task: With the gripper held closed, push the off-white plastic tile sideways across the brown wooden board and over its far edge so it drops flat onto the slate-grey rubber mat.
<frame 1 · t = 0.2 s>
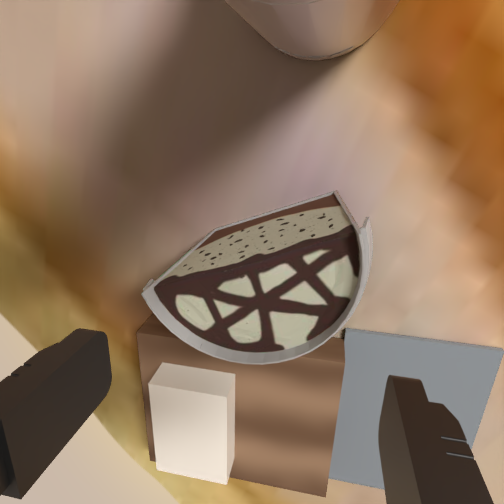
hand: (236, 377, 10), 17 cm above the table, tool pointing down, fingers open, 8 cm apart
mat: (402, 419, 31), on the table
tile: (194, 423, 30), point 4 cm above the table, touching brown wooden board
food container: (286, 248, 28), on the table
brown wooden board: (242, 392, 33), on the table
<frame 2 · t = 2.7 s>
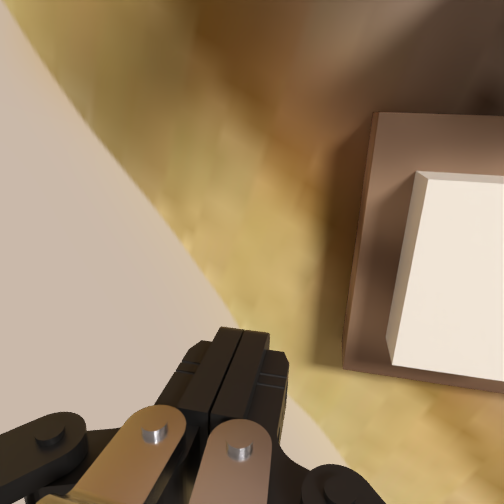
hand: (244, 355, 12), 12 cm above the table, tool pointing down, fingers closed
tile: (472, 277, 17), point 4 cm above the table, touching brown wooden board
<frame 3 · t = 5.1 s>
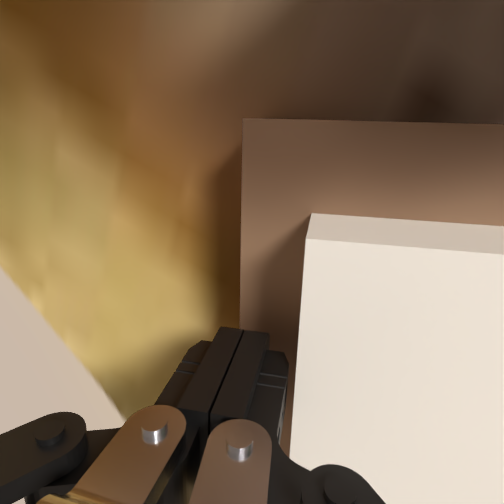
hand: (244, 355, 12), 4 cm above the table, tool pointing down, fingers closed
tile: (405, 388, 10), point 4 cm above the table, touching gripper
brown wooden board: (468, 324, 14), on the table
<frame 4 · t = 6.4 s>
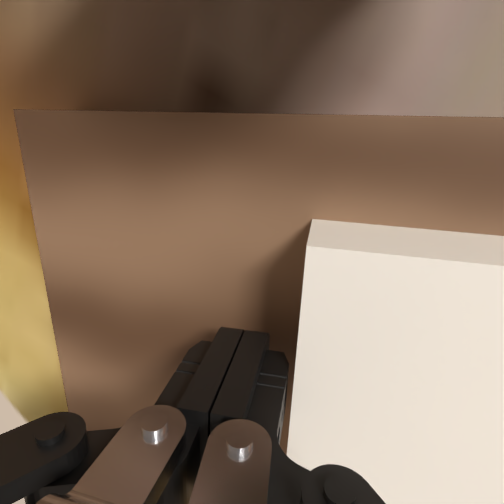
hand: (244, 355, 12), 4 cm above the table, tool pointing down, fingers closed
tile: (401, 393, 11), point 4 cm above the table, touching gripper
brown wooden board: (276, 299, 15), on the table
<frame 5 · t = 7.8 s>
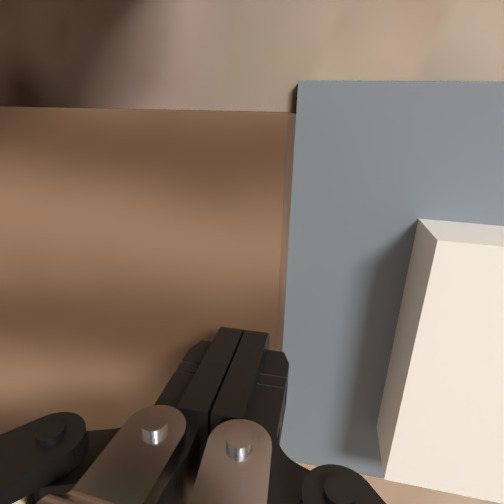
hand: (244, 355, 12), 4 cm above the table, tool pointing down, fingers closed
mat: (432, 315, 14), on the table
tile: (494, 366, 12), point 2 cm above the table, tilted 180°, touching mat
brown wooden board: (105, 279, 16), on the table
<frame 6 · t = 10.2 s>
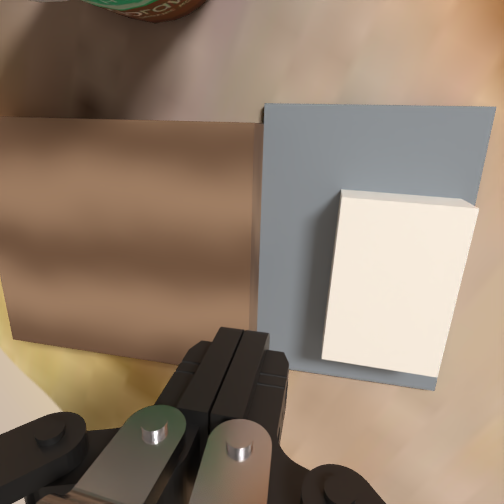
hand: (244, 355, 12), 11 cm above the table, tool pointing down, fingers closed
mat: (355, 255, 21), on the table
tile: (388, 282, 20), point 2 cm above the table, tilted 180°, touching mat
brown wooden board: (138, 236, 24), on the table
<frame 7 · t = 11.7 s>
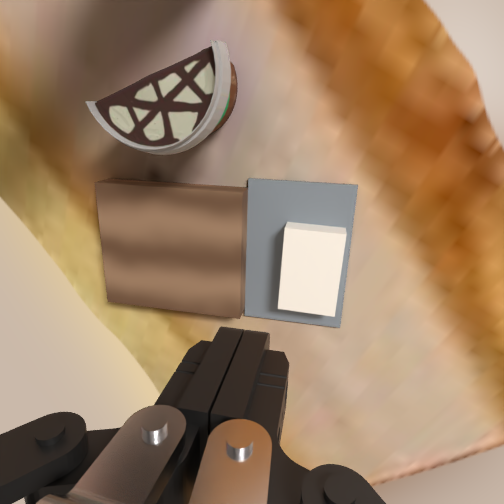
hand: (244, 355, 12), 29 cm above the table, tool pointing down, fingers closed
mat: (296, 255, 41), on the table
tile: (310, 269, 39), point 2 cm above the table, tilted 180°, touching mat
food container: (203, 115, 38), on the table
brown wooden board: (179, 243, 43), on the table
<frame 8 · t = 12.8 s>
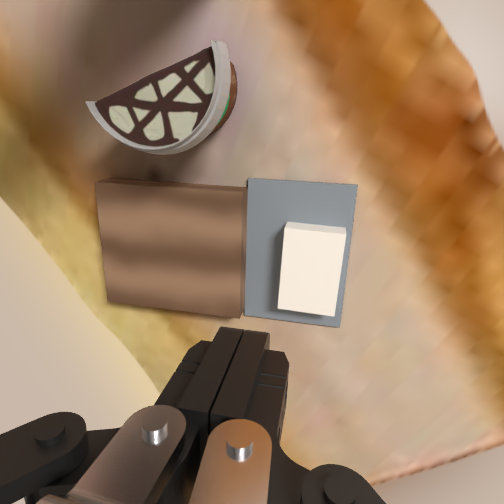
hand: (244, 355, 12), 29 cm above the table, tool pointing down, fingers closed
mat: (296, 254, 41), on the table
tile: (310, 268, 39), point 2 cm above the table, tilted 180°, touching mat
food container: (203, 115, 38), on the table
brown wooden board: (179, 243, 43), on the table
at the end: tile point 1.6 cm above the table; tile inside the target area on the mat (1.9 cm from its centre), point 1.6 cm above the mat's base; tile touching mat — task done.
